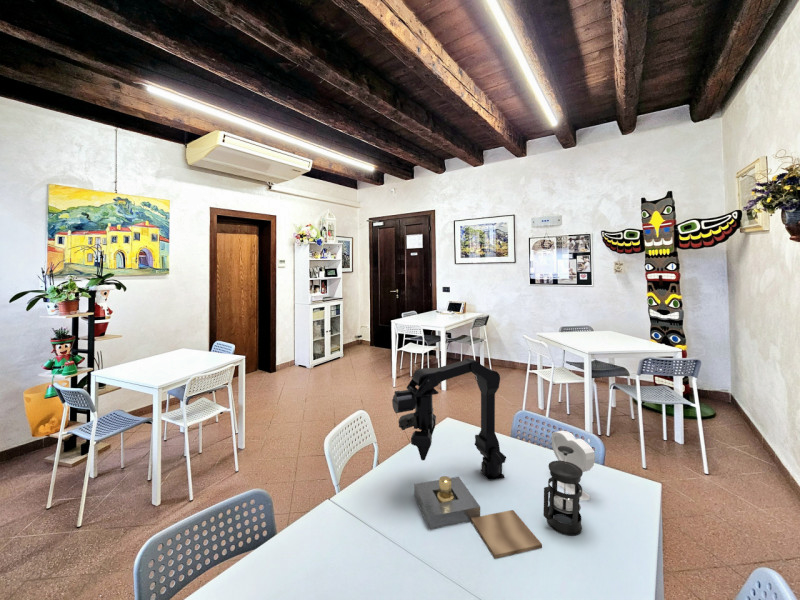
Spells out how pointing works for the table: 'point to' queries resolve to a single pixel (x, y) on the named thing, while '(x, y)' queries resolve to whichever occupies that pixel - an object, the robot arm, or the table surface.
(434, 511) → the plate
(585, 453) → the heart sculpture
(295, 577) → the table surface
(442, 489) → the knob
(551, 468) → the french press
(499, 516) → the board
